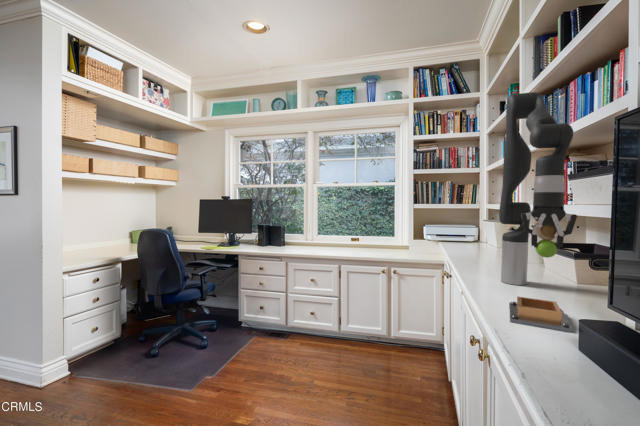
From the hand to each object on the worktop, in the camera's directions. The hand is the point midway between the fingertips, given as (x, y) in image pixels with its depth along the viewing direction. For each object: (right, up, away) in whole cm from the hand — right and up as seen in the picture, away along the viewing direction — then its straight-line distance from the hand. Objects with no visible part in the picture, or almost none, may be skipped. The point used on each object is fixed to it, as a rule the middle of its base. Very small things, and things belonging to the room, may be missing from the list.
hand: (546, 247), depth 97 cm
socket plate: (-4, -20, -2) cm, 21 cm away
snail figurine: (0, -3, 0) cm, 3 cm away
